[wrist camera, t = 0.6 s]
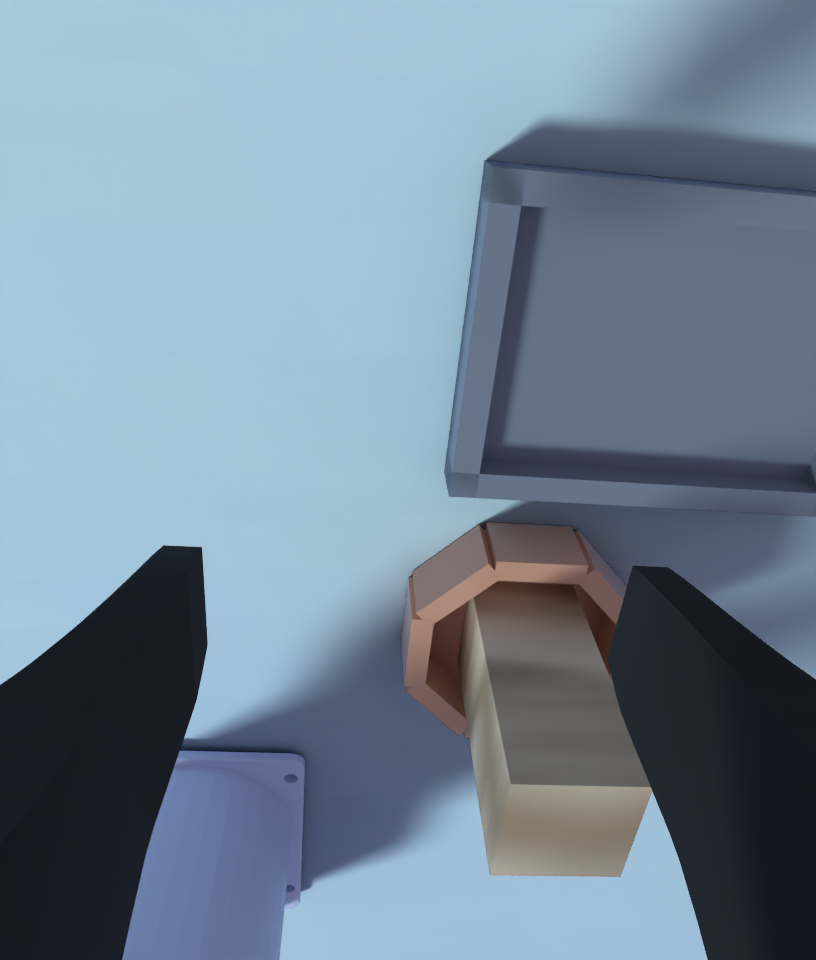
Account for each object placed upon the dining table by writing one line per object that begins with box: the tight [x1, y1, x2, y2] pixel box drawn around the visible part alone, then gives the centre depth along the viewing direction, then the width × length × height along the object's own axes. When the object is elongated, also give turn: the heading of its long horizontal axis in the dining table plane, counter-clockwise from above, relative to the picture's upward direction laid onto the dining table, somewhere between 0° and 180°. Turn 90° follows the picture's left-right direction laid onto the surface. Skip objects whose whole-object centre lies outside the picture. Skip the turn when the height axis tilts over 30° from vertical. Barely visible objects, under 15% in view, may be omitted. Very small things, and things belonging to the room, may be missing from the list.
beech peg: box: [457, 582, 652, 877], centre depth 22 cm, size 4×4×8 cm
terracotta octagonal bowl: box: [401, 522, 626, 738], centre depth 25 cm, size 8×8×2 cm
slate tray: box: [444, 160, 816, 516], centre depth 21 cm, size 9×12×2 cm
